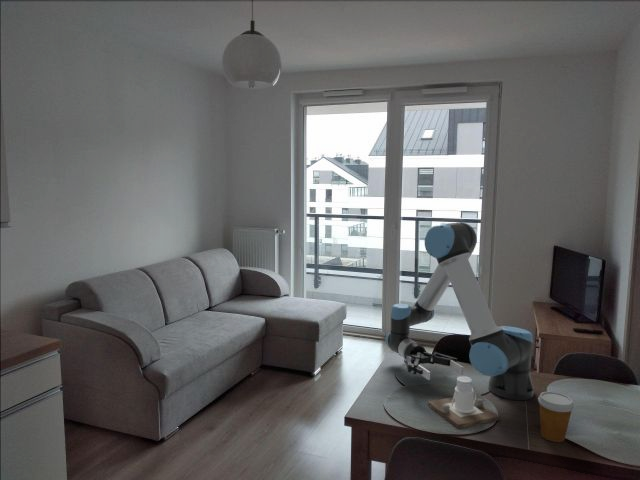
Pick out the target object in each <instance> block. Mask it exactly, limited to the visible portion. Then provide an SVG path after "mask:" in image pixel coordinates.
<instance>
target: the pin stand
mask: <svg viewBox="0 0 640 480" xmlns="http://www.w3.org/2000/svg"><path fill="white" fill-rule="evenodd" d="M452 399H453V396H451V397H446V398H441V399H440V398H439V399H434V400H428V401H427V406H428V405H429V406H428V407H430V406H431V407H432V408H433V409H432V408H431V407H430V408H431V409H432V410H433V411H435V410H436V411H437V412H438V414H439V413H440V414H441V415H442V416H441V415H440V414H439V415H440V416H441V417H442V418H444V419H445V418H446V419H447V420H446V419H445V420H446V421H448V422H449V423H450V424H451V423H452V425H453V426H454V427H456V429H462V428H469V427H471V426H477V425H481V424H486V423H492V422H495V421H500V420H501V416H500V415H499V414H497V413H496V412H495V411H492V410H491V409H490V408H488V407H487V406H485V405H484V399H482V398H479V397H478V398H477V397H476V400H475V403H474V407H475V411H474V412H471V413H462V412H458V411H456V410H454V409H453V406H452ZM473 401H474V398H473ZM454 403H455V398H454V401H453V404H454ZM436 411H435V412H436ZM437 412H436V413H437Z"/></svg>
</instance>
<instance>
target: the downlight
mask: <svg viewBox="0 0 640 480" xmlns="http://www.w3.org/2000/svg"><path fill="white" fill-rule="evenodd" d="M472 380H473V379H472V378H471V377H469V376H466V375H464V376H463V375H460V376H458V377H456V386H455V387H454V393H453V396H452V397H453V399H452V406H453V409H454V410H456V411H458V412H462V413H471V412H474V411H475V407H474V403H475V400H476V399H477V393H476V392H475V391H474V390H475V389H474V388H473V387H472V386H473V385H472V384H473V381H472ZM454 398H455V403H454V404H453V401H454ZM473 399H474V401H473Z"/></svg>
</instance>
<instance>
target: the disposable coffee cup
mask: <svg viewBox="0 0 640 480" xmlns="http://www.w3.org/2000/svg"><path fill="white" fill-rule="evenodd" d="M537 401H538V405H539V419H540V423H539V424H540V436H541V437H543V438H544V439H545V440H548V441H551V442H554V443H561V442H564V441H565V439H566V434H567V431H568V426H569V423H570V418H571V416H572V411H573V409H574V408H575V404H574V401H573V399H572V398H571V397H569V396H568V395H566V394H563V393H560V392H556V391H543V392H541V393H540V394H539V396H538V398H537Z"/></svg>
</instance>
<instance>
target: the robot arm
mask: <svg viewBox="0 0 640 480" xmlns="http://www.w3.org/2000/svg"><path fill="white" fill-rule="evenodd" d="M477 241H478V238H477V233H476V230H475V229H474V228H473V226H471V225H470V224H468V223H465V222H462V221H461V222H459V221H458V222H457V221H456V222H450V223H449V222H448V223H446V222H445V223H444V222H441V223H439V224H435V225H433V226H432V227H430V228H429V229H428V230H427V232H426V234H425V236H424V248H425V251H426V252H427V254H428V255H429V256H431V257H433V258H434V259H436V260H437V266H436V268H435V270H434V271H433V273H432V275H431V276H430V278H429V279H428V281H427V283H426V285H425V286H424V288H423V289H422V291H421V293H420V295H419V297H418V298H417V300H416V302H415V303H414V305H412V306H410V305H409V304H406V303H395V304H393V305H392V306H391V313H390V331H389V332H388V333H387V334H386V336H385V339H384V340H385V345H386V346H387V347H388V348H389V349H390V350H391V351H392V352H394V353H396V354H398V355H399V357H400V356H401V357H402V358H403V363H405V364H406V369H407V372H408V373H412V372H413V375H417V374H418V375H420V376H422V377H423V378H424V379H426V380H428V381H430V380H431V371H430V370H428V369H427V368H425V367H424V366H422V365H424V364H430V365H434V364H435V365H436V364H437V365H442V366H447V367H449V368H450V369H451V370H452V371H455V372H456V373H458V374H460V376H463V375H464V370H465V367H464V366H462V365H461V364H459V363H458V357H457V358H456V357H453V356H450V355H447V354H443V353H439V352H437V351H432V353H430V352H427V350H426V349H425V347H424V346H423V345H421V344H419V343H418V342H417V341H415V340H412V339H411V338H410V333H411V332H410V329H411V327H413V326H417V325H419V324H424V323H427V322H429V321H431V320H432V319H433V318H434V316H435V308H436V307H437V305H438V303H439V301H440V300H441V298H442V297H443V295H444V293H445V292H446V291H447V289H448V287H449V286H450V285H451V287H452V289H453V292H454V294H455V297H456V299H457V302H458V304H459V307H460V309H461V312H462V314H463V317H464V320H465V321H466V324H467V327H468V328H469V331H470V336H469V338H468V341H469V344H470V350H469V353H468V354H469V355H468V356H469V362H470V363H471V365H472V367H473V368H474V369H475V371H477V372H478V373H480V374H482V375H483V376H487V377H489V380H488V384H487V385H488V386H487V387H488V389H489V391H490V392H491V393H492V394H494V395H496V396H498V397H500V398H504V399H507V400H513V401H527V400H531V399H532V398H533V397H534V395H535V394H534V393H535V388H534V384H533V380H532V376H531V366H532V365H531V364H532V354H533V343H534V340H533V339H534V337H533V336H534V335H533V333H532V332H531V331H529V330H527V329H524V328H520V327H515V326H509V325H499V326H498V325H497V324H496V323H495V320H494V317H493V316H492V313H491V310H490V308H489V306H488V303H487V301H486V298H485V296H484V294H483V291H482V289H481V286H480V284H479V282H478V279H477V277H476V274H475V273H474V270H473V267H472V265H471V263H470V257H471V255H472V254H473V252H474V251H475V248H476V246H477ZM421 364H422V365H421Z"/></svg>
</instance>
